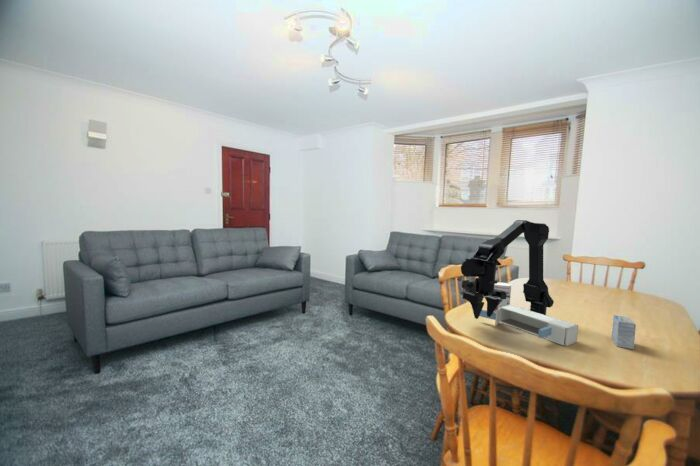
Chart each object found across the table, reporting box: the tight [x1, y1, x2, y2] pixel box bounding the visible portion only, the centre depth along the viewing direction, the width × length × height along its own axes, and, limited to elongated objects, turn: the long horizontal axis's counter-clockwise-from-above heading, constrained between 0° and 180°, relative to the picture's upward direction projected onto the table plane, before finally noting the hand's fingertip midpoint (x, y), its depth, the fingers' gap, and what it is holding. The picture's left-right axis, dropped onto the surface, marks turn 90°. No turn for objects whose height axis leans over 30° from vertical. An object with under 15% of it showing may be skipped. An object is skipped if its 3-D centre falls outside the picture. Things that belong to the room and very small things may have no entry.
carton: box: [499, 304, 579, 347], centre depth 110 cm, size 7×24×6 cm, turn 30°
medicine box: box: [611, 314, 637, 350], centre depth 102 cm, size 8×4×9 cm, turn 148°
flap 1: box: [479, 308, 501, 326], centre depth 118 cm, size 7×5×6 cm
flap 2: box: [537, 323, 566, 346], centre depth 99 cm, size 7×5×6 cm
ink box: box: [494, 281, 512, 311], centre depth 135 cm, size 8×5×12 cm, turn 72°
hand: (482, 317), depth 113 cm, fingers open, 7 cm apart
